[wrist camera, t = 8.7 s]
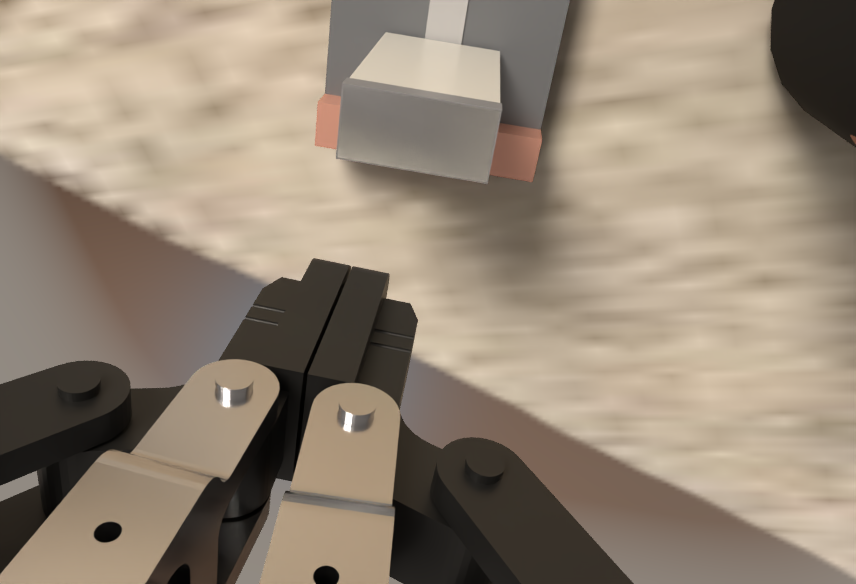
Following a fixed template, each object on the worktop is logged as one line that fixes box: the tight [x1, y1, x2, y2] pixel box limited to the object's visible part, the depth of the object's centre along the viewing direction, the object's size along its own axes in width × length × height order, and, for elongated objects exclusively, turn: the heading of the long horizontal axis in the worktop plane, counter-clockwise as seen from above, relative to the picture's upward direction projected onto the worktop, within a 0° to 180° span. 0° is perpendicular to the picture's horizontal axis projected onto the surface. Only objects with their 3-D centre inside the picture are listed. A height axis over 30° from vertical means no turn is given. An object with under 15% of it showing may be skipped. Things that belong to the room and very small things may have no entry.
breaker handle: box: [336, 32, 502, 184], centre depth 27 cm, size 2×5×10 cm, turn 82°
